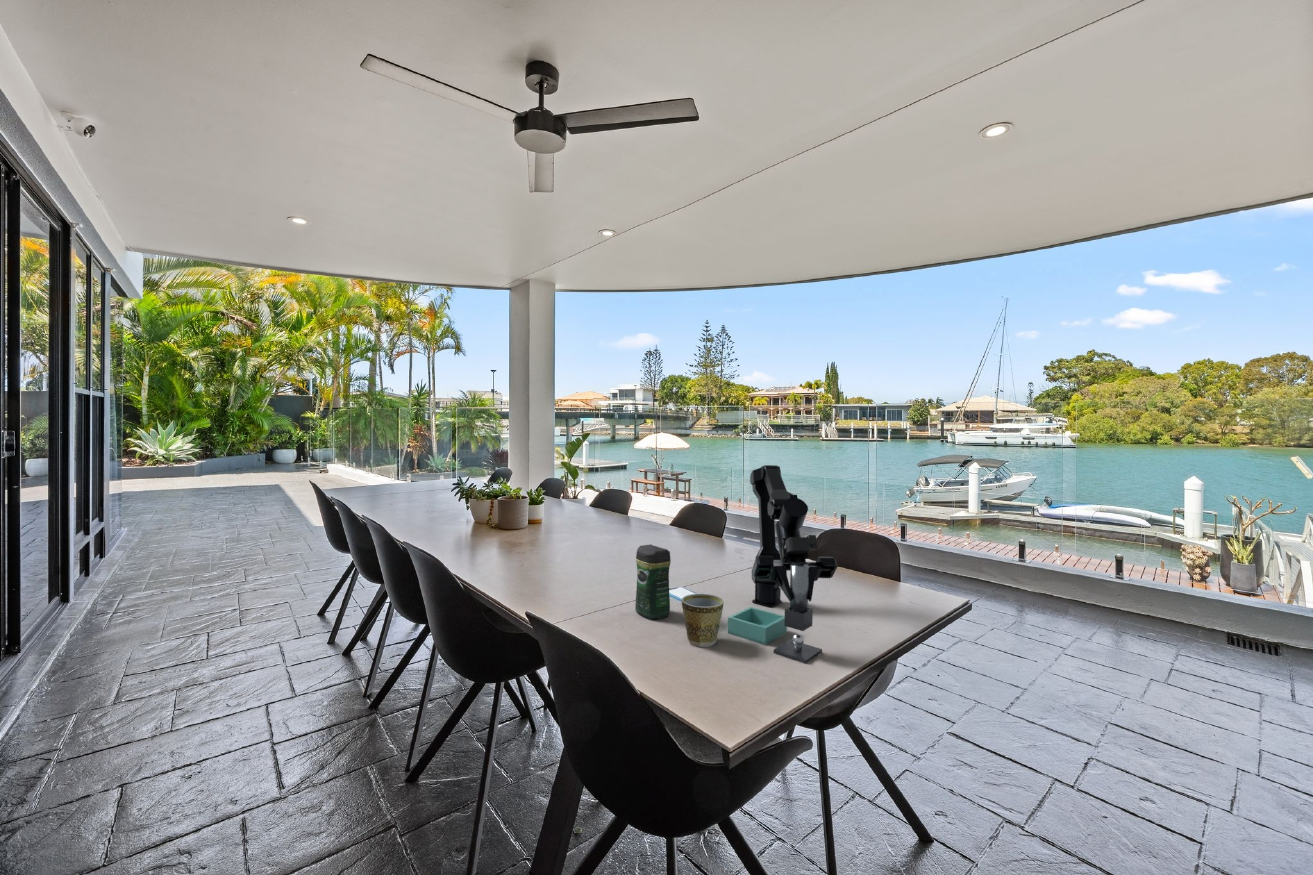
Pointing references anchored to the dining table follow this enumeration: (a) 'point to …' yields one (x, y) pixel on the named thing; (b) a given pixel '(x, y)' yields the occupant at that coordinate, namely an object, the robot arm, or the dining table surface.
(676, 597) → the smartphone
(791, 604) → the strut
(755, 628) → the bin
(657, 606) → the coffee jar
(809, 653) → the stud base
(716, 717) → the dining table surface
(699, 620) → the ceramic cup
